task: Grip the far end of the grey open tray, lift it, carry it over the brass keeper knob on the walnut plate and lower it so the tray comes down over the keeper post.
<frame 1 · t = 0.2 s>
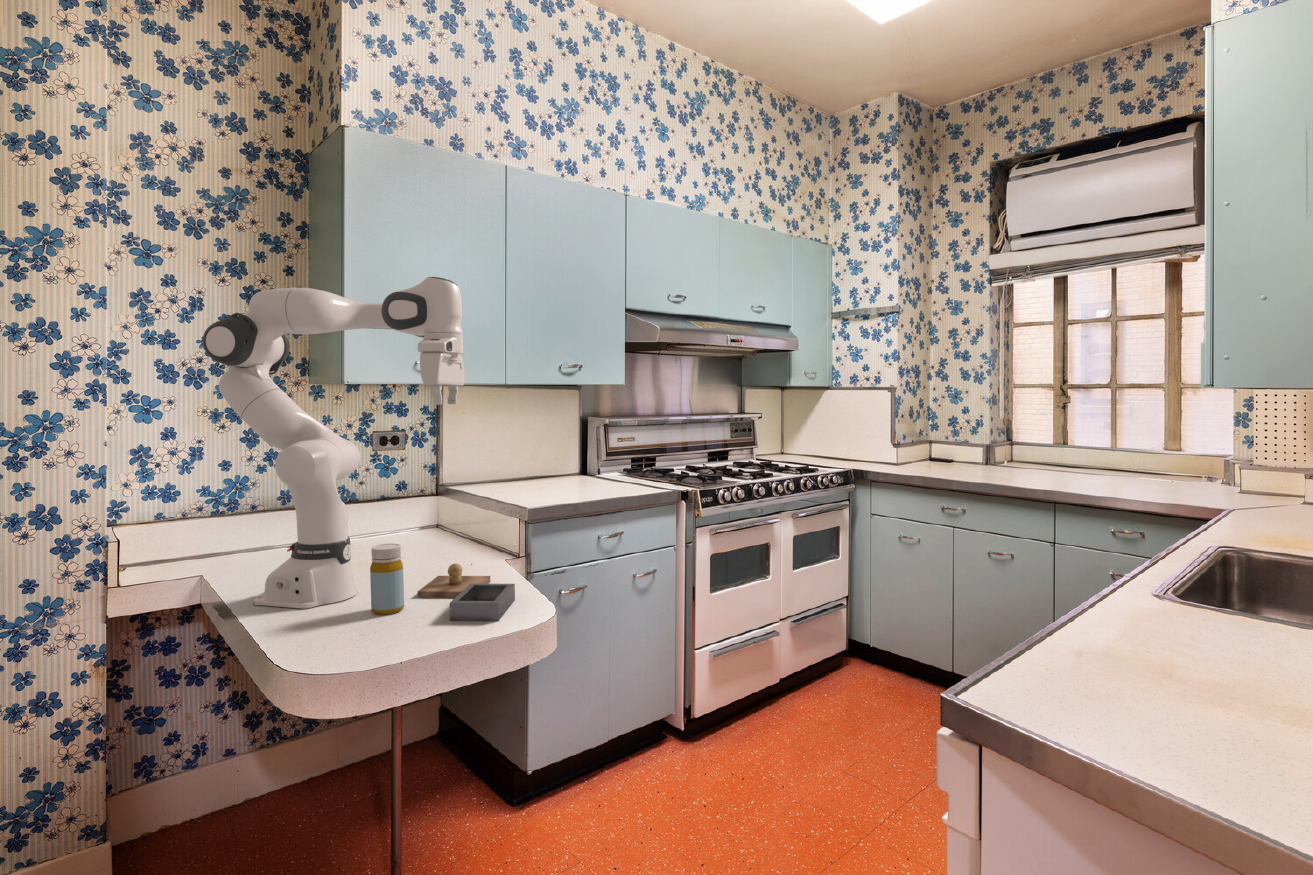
hand: (445, 404, 158), 47 cm above the counter, fingers open, 8 cm apart
grey open tray: (484, 609, 151), on the counter
keeper: (455, 589, 168), on the counter
bottle: (388, 611, 151), on the counter
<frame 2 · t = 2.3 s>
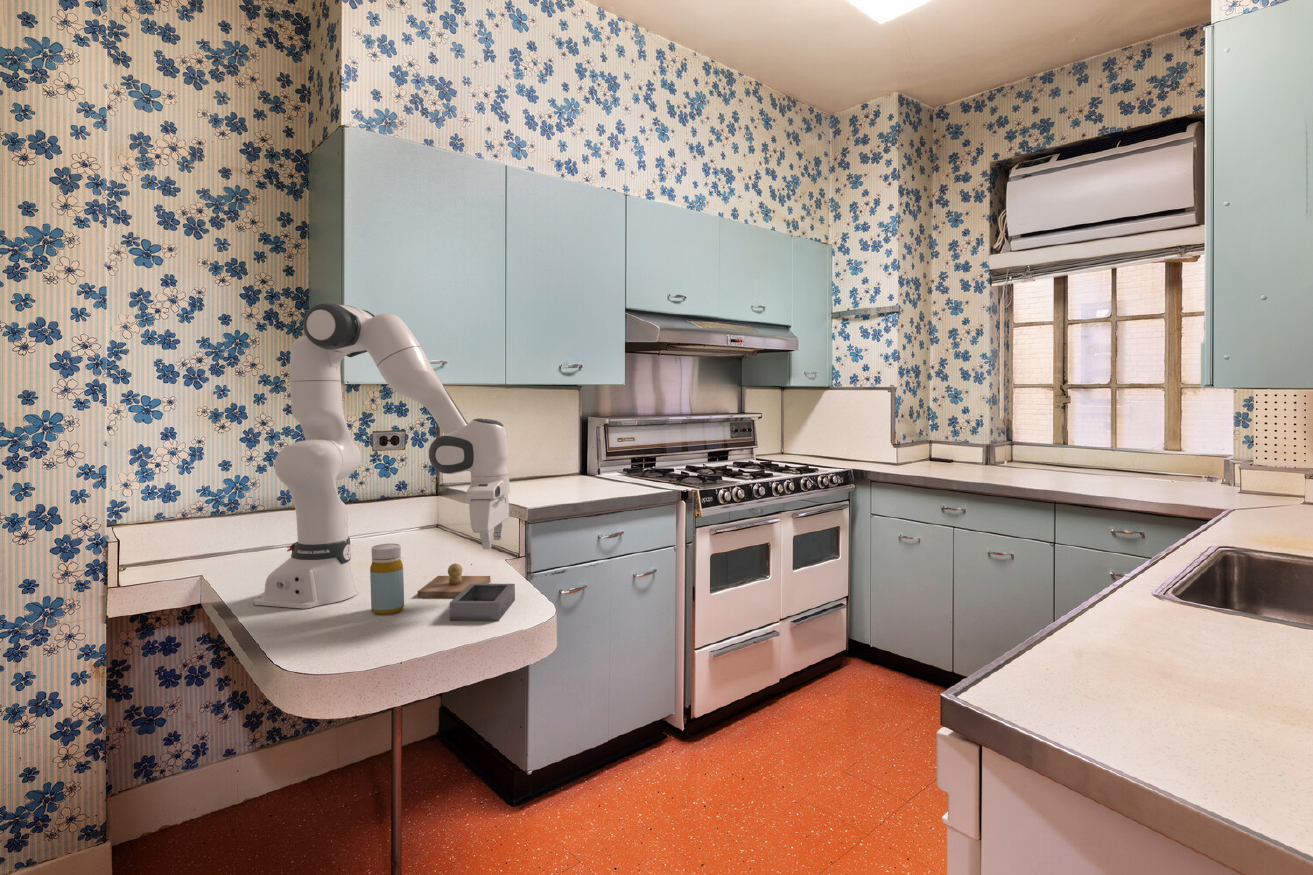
hand: (492, 543, 157), 14 cm above the counter, fingers open, 8 cm apart
nothing on the counter moved.
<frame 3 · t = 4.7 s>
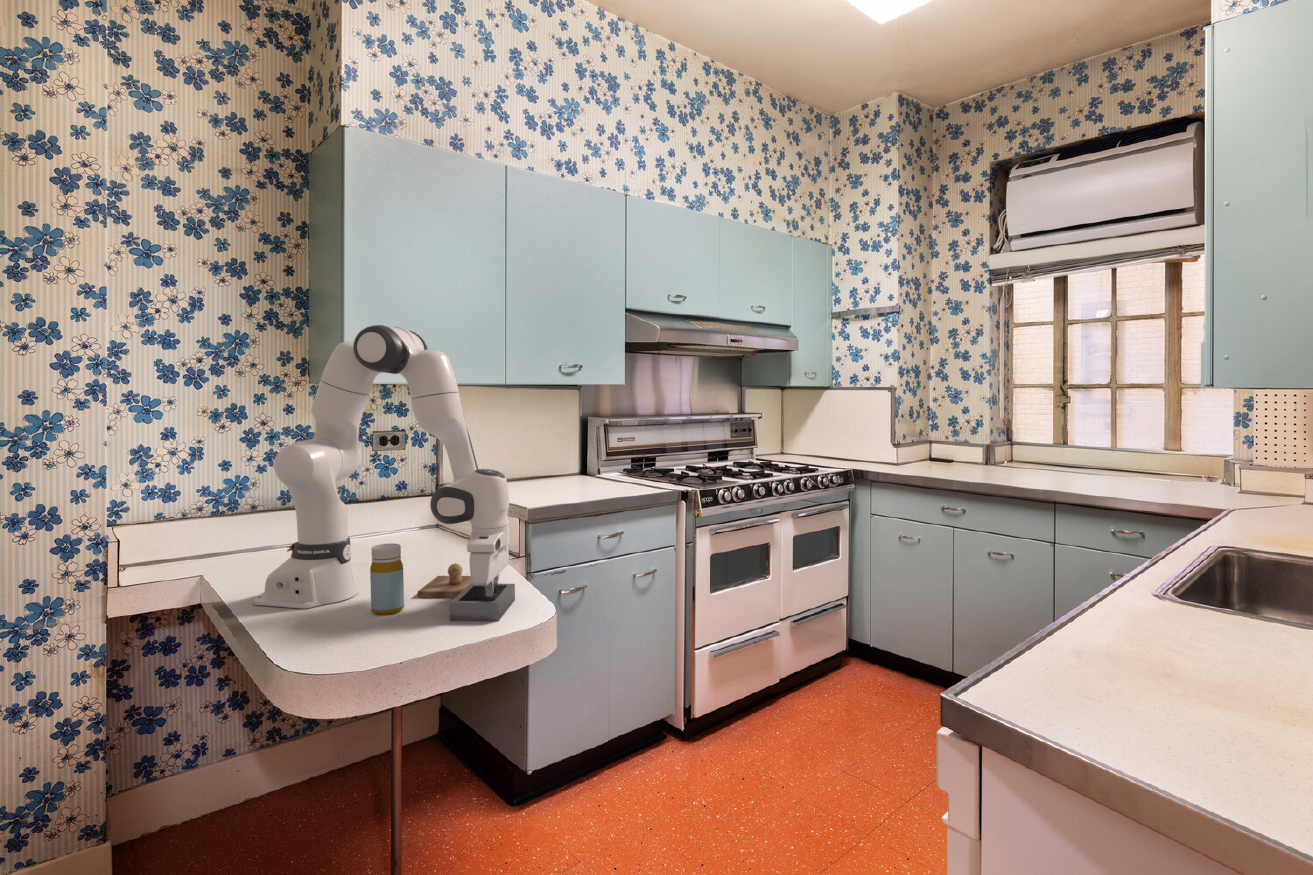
hand: (491, 593, 158), 2 cm above the counter, fingers closed on grey open tray
grey open tray: (484, 609, 151), on the counter, touching gripper
everything else where it was.
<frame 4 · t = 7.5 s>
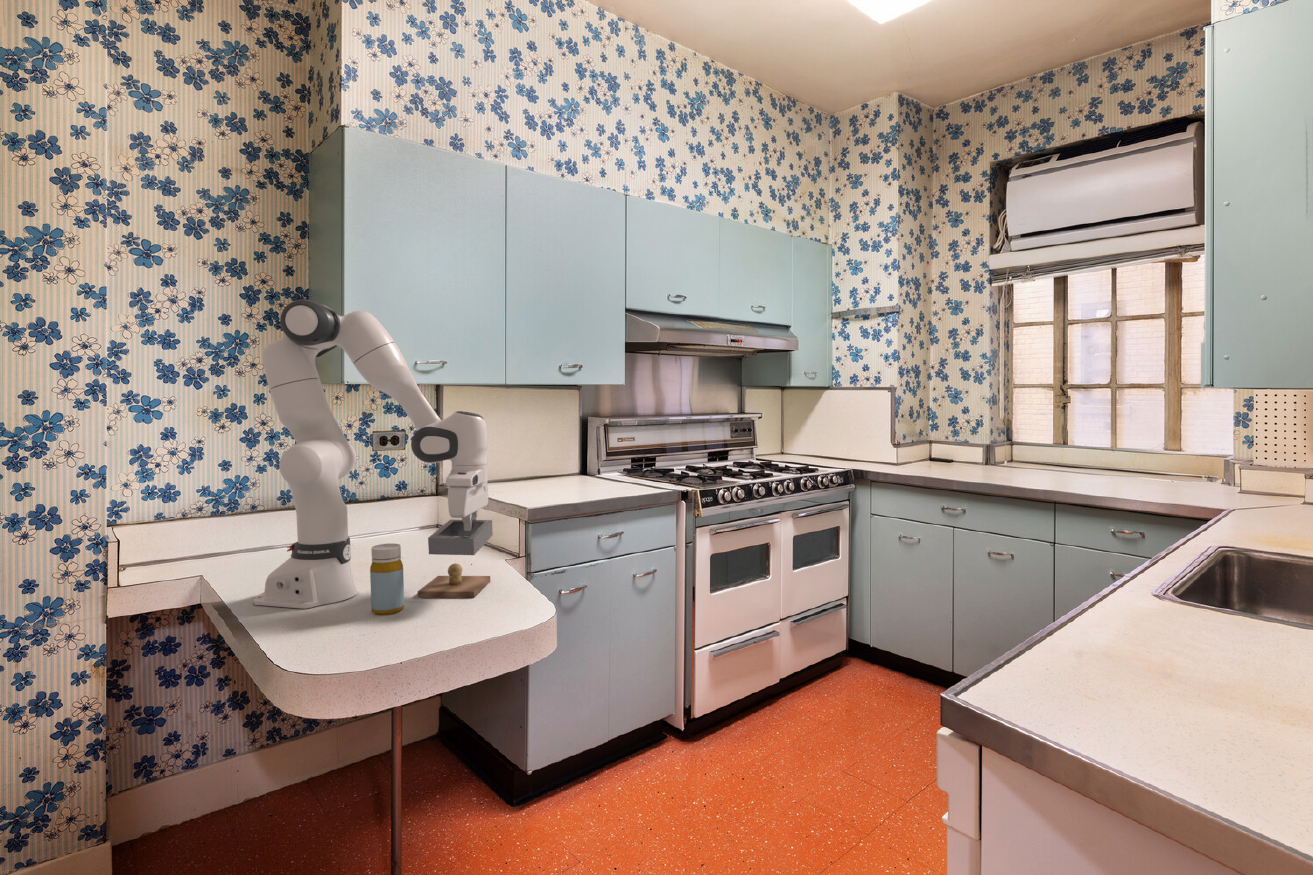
hand: (470, 529, 167), 15 cm above the counter, fingers closed on grey open tray
grey open tray: (462, 544, 161), point 13 cm above the counter, tilted 6°, touching gripper
everything else where it was.
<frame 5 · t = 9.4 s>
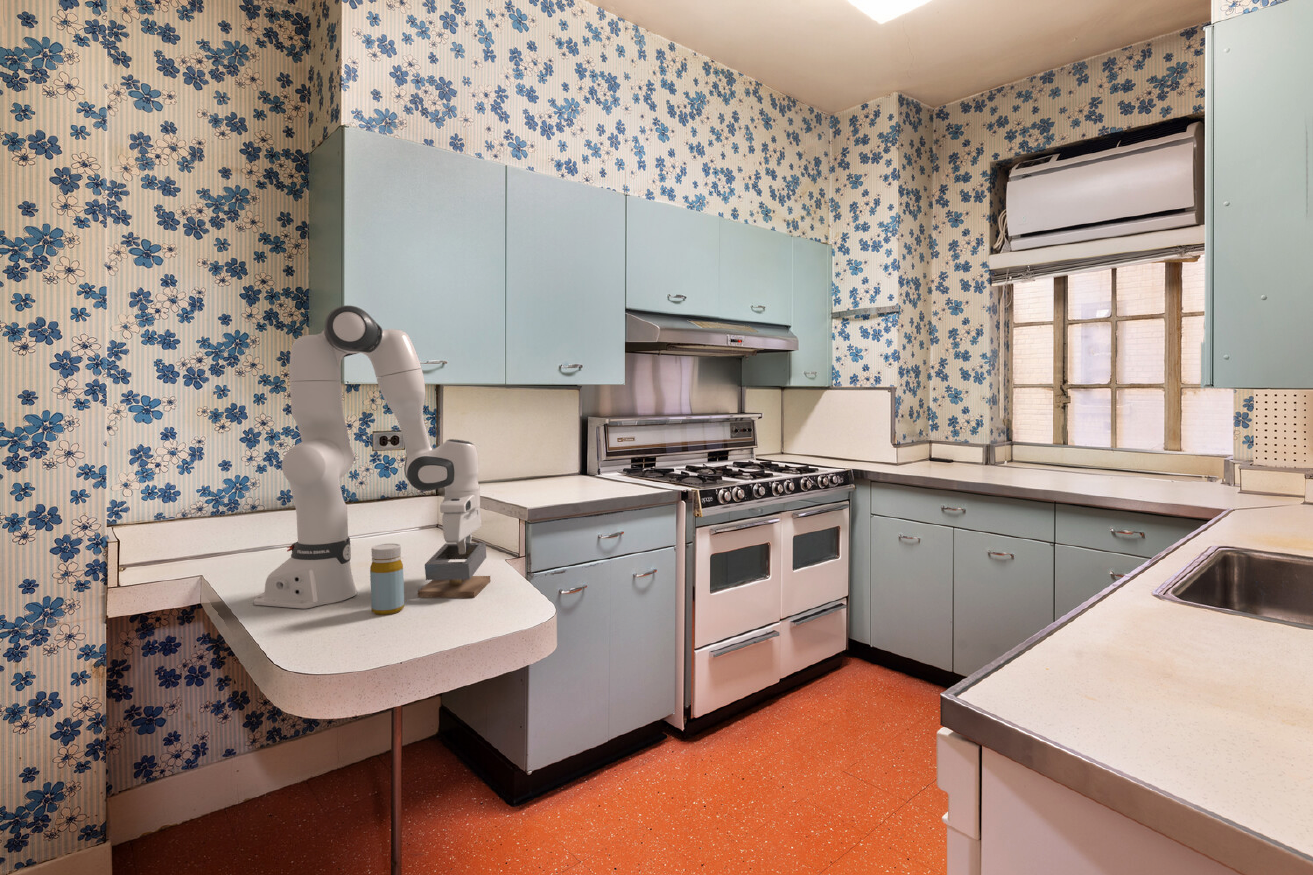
hand: (464, 552, 174), 8 cm above the counter, fingers closed on grey open tray
grey open tray: (457, 568, 168), point 5 cm above the counter, tilted 7°, touching gripper
everything else where it was.
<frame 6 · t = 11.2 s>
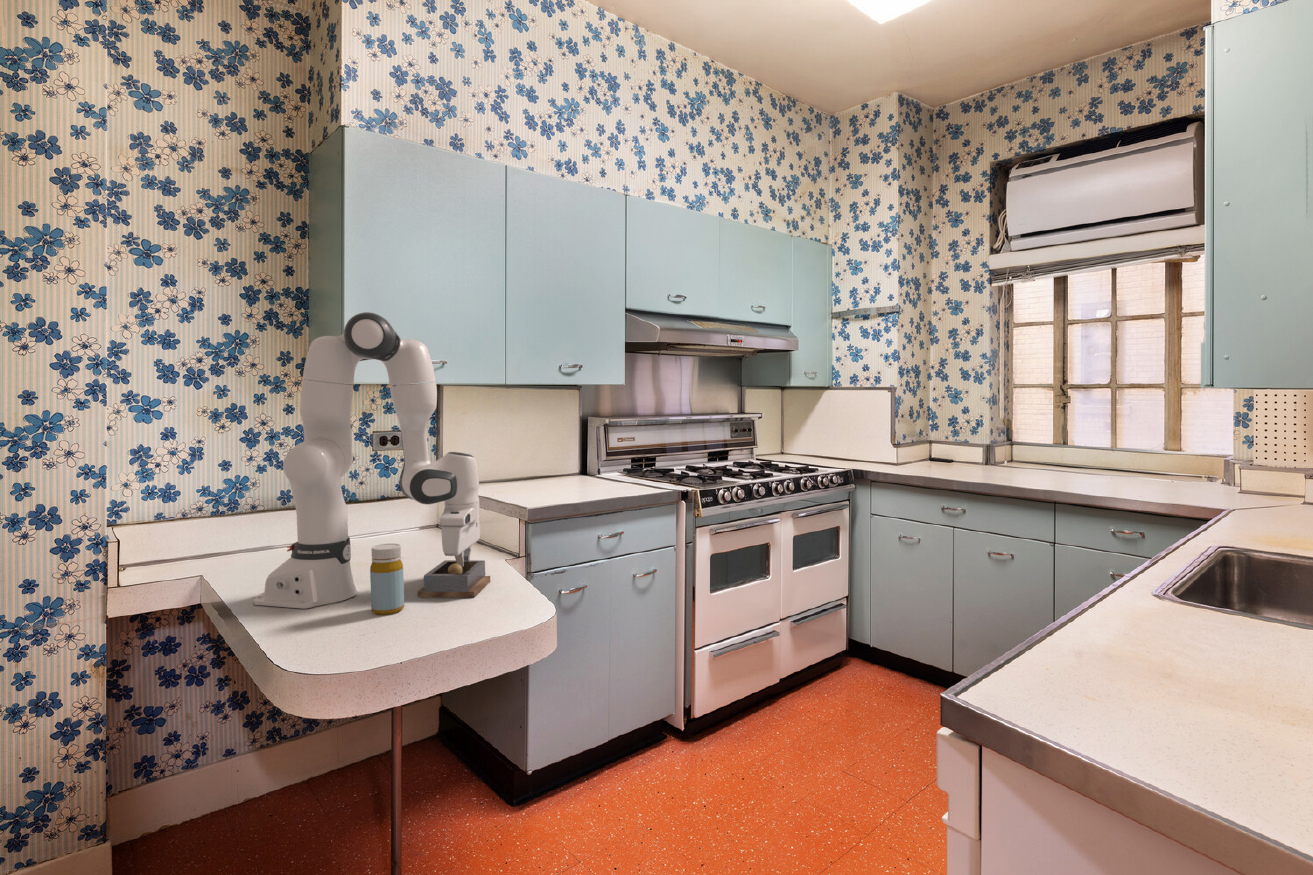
hand: (463, 564, 174), 5 cm above the counter, fingers open, 3 cm apart
grey open tray: (456, 582, 168), point 1 cm above the counter, touching keeper
everything else where it was.
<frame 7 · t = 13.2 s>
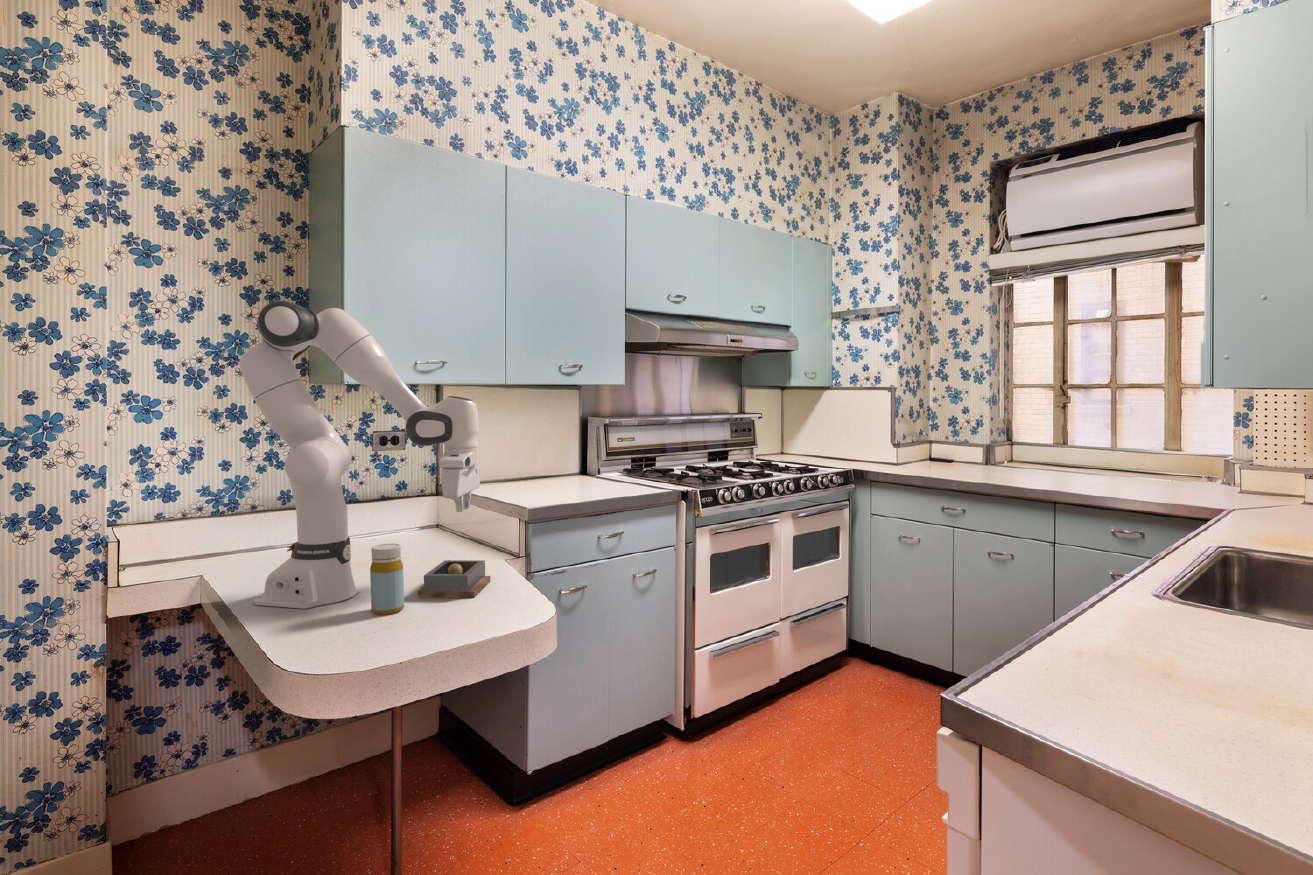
hand: (463, 510, 173), 19 cm above the counter, fingers open, 3 cm apart
nothing on the counter moved.
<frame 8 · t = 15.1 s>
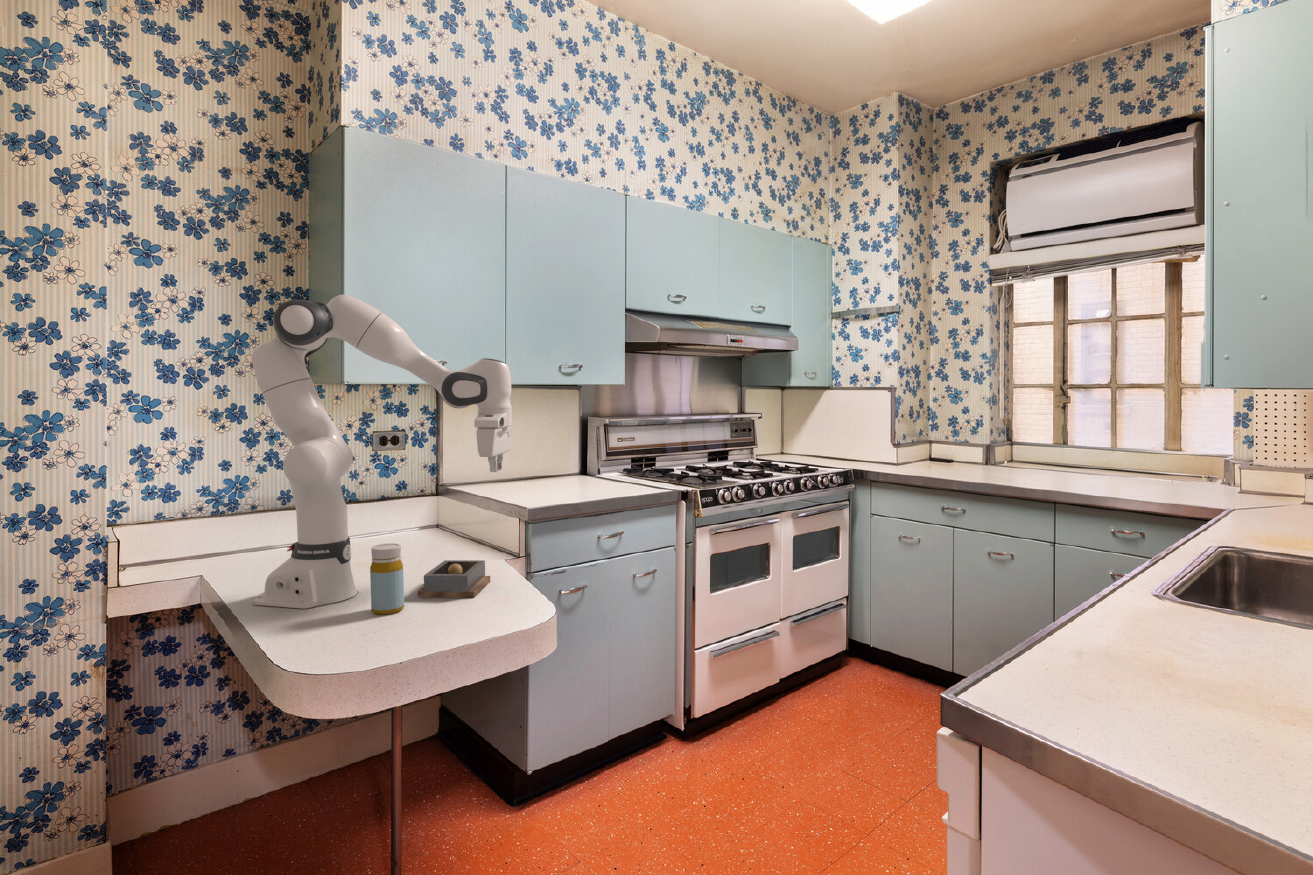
hand: (496, 470, 177), 29 cm above the counter, fingers open, 3 cm apart
nothing on the counter moved.
at the end: grey open tray 0.3 cm from the keeper (horizontally); grey open tray point 1.5 cm above the counter; the gripper is holding nothing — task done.
